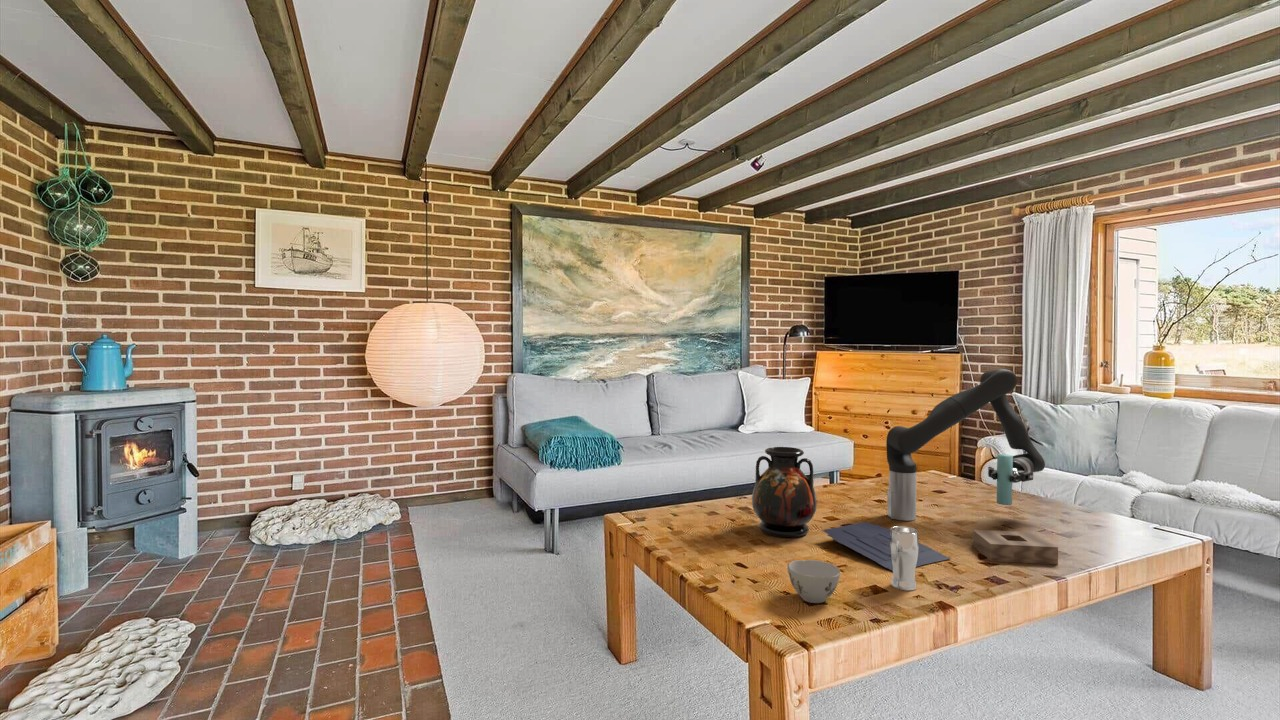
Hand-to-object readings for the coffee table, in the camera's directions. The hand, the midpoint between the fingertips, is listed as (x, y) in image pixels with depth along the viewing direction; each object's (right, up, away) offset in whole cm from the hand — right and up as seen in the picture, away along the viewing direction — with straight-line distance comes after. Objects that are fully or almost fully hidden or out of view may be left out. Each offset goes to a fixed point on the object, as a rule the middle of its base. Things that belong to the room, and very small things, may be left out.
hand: (1002, 477), depth 199 cm
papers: (-44, -21, -12) cm, 50 cm away
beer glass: (-50, -21, -39) cm, 67 cm away
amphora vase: (-70, -20, +8) cm, 73 cm away
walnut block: (-6, -20, -15) cm, 26 cm away
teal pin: (+2, -9, +2) cm, 9 cm away
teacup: (-76, -21, -46) cm, 91 cm away
